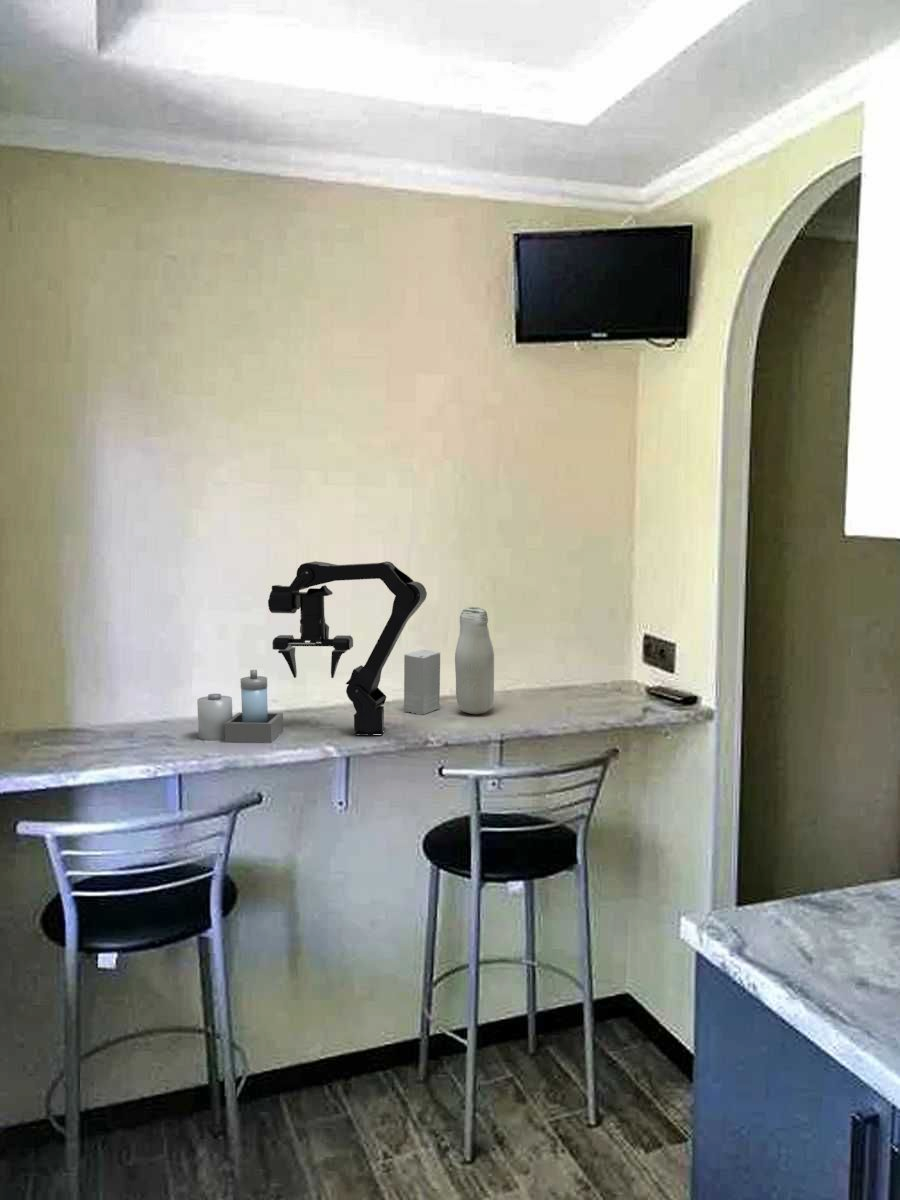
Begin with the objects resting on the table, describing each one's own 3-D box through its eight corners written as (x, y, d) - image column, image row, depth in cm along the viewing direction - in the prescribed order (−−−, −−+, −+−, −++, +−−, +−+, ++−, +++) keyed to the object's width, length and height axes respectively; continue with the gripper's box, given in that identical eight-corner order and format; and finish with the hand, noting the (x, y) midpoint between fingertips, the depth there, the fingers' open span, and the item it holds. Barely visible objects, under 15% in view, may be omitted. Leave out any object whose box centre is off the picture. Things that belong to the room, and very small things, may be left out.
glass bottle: (497, 710, 252) (496, 605, 249) (489, 718, 242) (488, 610, 239) (461, 708, 255) (460, 604, 252) (451, 716, 245) (451, 609, 242)
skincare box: (421, 706, 257) (420, 648, 256) (442, 709, 253) (442, 651, 252) (402, 712, 250) (401, 653, 249) (424, 715, 246) (423, 655, 245)
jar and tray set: (283, 731, 231) (282, 690, 230) (271, 742, 220) (270, 700, 219) (207, 730, 233) (205, 690, 231) (191, 741, 222) (190, 699, 221)
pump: (271, 729, 229) (269, 668, 227) (264, 735, 223) (262, 672, 221) (246, 729, 229) (244, 667, 228) (238, 735, 223) (236, 672, 221)
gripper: (356, 610, 236) (357, 671, 238) (282, 609, 237) (284, 671, 239) (348, 615, 225) (349, 680, 227) (271, 615, 226) (272, 679, 228)
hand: (313, 677), depth 230 cm, fingers open, 9 cm apart
